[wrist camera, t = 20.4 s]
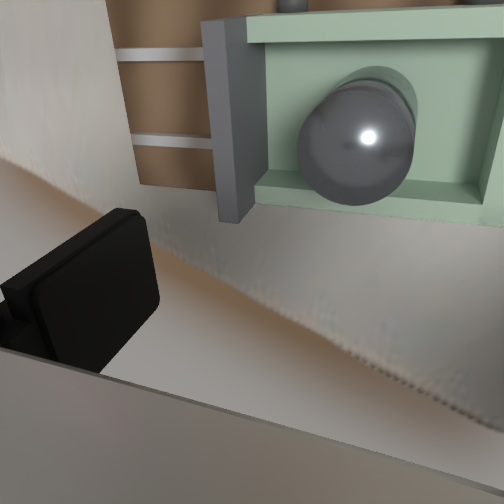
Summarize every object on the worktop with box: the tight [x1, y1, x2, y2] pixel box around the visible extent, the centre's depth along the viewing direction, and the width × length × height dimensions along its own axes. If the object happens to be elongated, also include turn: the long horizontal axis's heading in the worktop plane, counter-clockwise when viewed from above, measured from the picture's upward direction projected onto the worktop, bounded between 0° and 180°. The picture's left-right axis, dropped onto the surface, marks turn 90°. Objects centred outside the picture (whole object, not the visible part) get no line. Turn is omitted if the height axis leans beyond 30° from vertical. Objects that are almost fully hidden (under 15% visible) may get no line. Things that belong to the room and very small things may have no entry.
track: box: [105, 0, 466, 191], centre depth 28 cm, size 28×14×3 cm, turn 94°
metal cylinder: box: [296, 66, 418, 206], centre depth 22 cm, size 5×5×8 cm
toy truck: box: [200, 0, 504, 228], centre depth 24 cm, size 15×12×8 cm
